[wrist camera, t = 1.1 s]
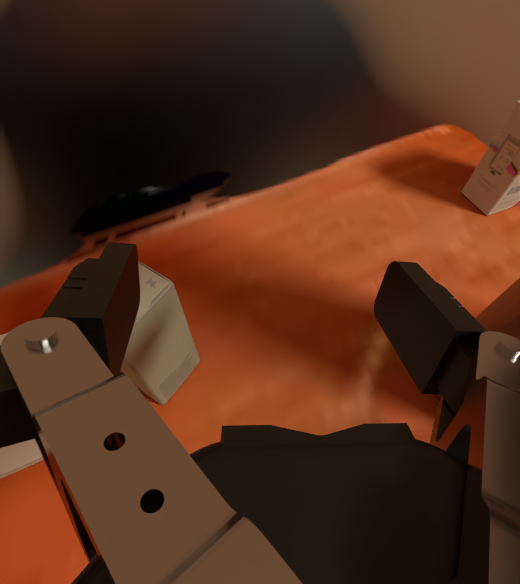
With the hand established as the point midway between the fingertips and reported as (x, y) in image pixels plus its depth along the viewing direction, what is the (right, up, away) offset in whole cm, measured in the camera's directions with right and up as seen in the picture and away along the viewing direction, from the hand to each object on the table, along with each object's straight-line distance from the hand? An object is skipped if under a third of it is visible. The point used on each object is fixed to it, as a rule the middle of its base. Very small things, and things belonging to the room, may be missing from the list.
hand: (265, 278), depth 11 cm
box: (-9, -8, +20) cm, 23 cm away
